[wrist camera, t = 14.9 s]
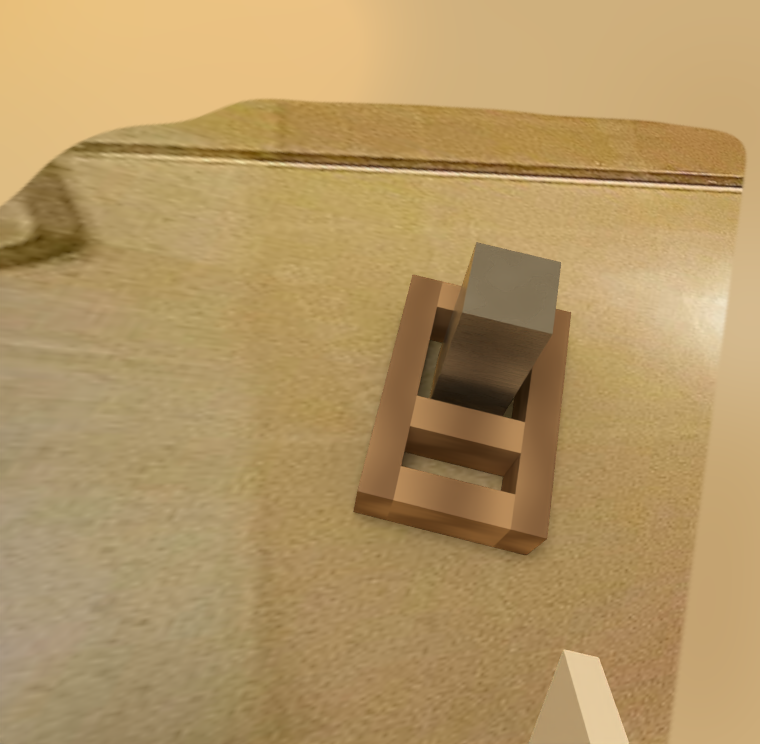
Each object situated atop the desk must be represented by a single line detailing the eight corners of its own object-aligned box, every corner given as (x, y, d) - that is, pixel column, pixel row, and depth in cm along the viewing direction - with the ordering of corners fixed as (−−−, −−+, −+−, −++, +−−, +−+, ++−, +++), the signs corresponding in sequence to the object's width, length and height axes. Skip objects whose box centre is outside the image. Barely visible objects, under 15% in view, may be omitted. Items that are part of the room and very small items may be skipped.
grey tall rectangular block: (425, 413, 43) (462, 312, 32) (438, 355, 45) (476, 242, 34) (493, 430, 43) (552, 334, 32) (503, 370, 45) (560, 262, 34)
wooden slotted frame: (353, 511, 39) (357, 491, 36) (405, 308, 46) (412, 274, 43) (526, 555, 39) (547, 538, 35) (551, 343, 46) (571, 312, 43)
